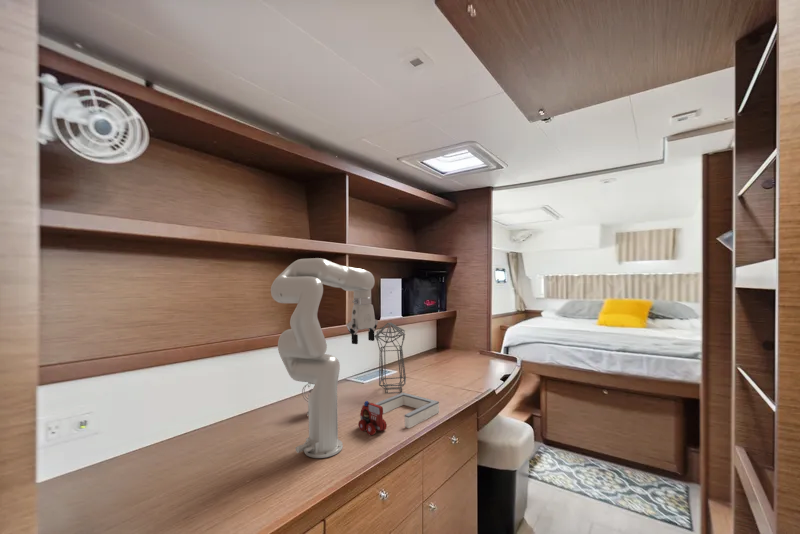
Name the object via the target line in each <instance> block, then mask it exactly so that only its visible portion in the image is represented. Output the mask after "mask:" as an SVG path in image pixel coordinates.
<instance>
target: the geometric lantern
mask: <svg viewBox="0 0 800 534" xmlns="http://www.w3.org/2000/svg"><path fill="white" fill-rule="evenodd" d="M386 328H387V330H386V331H384V330H385V329H386ZM392 330H393V331H392ZM375 332H376V333H375V334H374V339H376V342H377V346H378V350H379V361H378V362H379V363H378V364H379V367H378V368H379V369H378V370H379V371H378V375H379V377H378V381H379V382H378V385H379V387H381V388H382V389H384V391H385V394H400V393H403V387H404V386H405V385H406V382H407V376H406V367H405V360H404V354H403V353H404V352H403V346H404V345H403V344H404V341H405V336H406V333H405V332H406V330H405V329H403V328H401V327H400V326H397V325H396V324H395V323H393V322H387V323H386V324H385V325H383V326H382V327H381V328H380V329H379V330H377V331H375ZM380 334H382V335H380ZM388 334H389V335H388ZM392 334H394V335H392ZM401 337H402V341H401V345H400V343H399V341H398V339H399V338H401ZM382 338H384V339H382ZM389 339H390V340H389ZM381 341H383V342H384V343H385V344H384V346H383V345H382V342H381ZM395 341H396V342H397V344H398V346H397V345H396V344H395V343H394V342H395ZM379 343H380V344H379ZM389 343H392V344H393V345H389V346H388V345H387V344H389ZM380 345H381V346H380ZM392 347H394V348H395V349H393V350H392V349H391V350H386V348H392ZM398 347H399V349H398ZM386 352H396V353H397V363H398V369H399V370H398V371H399V376H397V377H387V375H386V370H387V369H386ZM383 358H384V362H383ZM383 364H384V365H383ZM394 379H399V382H397V383H389V384H388V383H387V380H394ZM402 379H403V380H402ZM388 387H390V388H388ZM391 389H394V390H399V391H397V392H394V391H393V392H389V391H388V390H391Z"/></svg>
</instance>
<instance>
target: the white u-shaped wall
mask: <svg viewBox="0 0 800 534" xmlns="http://www.w3.org/2000/svg"><path fill="white" fill-rule="evenodd" d="M439 403H440V401H437V400H436V399H435V400H434V399H431V398H426V397H423V396H422V397H421V396H419V395H415V394H410V393H406V392H401V393H397V394H396V395H393V396H391V397H388V398H385V399H383V400H380V401H378V402H375V403H374V404H376V405H379V406H382V407H383V414H382V415H384V414H385V413H388V412H391V411H393V410H395V409H397V408H400V407H402V406H407V407H410V408H414V410H412V411H410V412H407V413H405V414H404V427H405V428H407V429H410V428H412V427H414V426H416V425H419V424H420V423H423V422H424V421H426V420H427V419H429V418H432V417H433V416H436V415H438V414H439V413H440V404H439Z"/></svg>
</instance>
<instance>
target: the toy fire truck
mask: <svg viewBox="0 0 800 534" xmlns="http://www.w3.org/2000/svg"><path fill="white" fill-rule="evenodd" d="M360 410H361V411H360V415H359V417H360V420H358V426H357V427H358V429H359V430H360V431H362V432H365V431H366V433H367V434H368V435H369V436H373V435H375V434H376V432H377V431H378V432H380V431H381V432H384V431H386V429H387V428H388V425H387V421H386V420H385V419H384V418H383V415H384V414H383V407H382V406H379V405H376V404H375V403H373V402H370V401H368V400H366V401H364V403H363V405H362V406H361V409H360Z"/></svg>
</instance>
